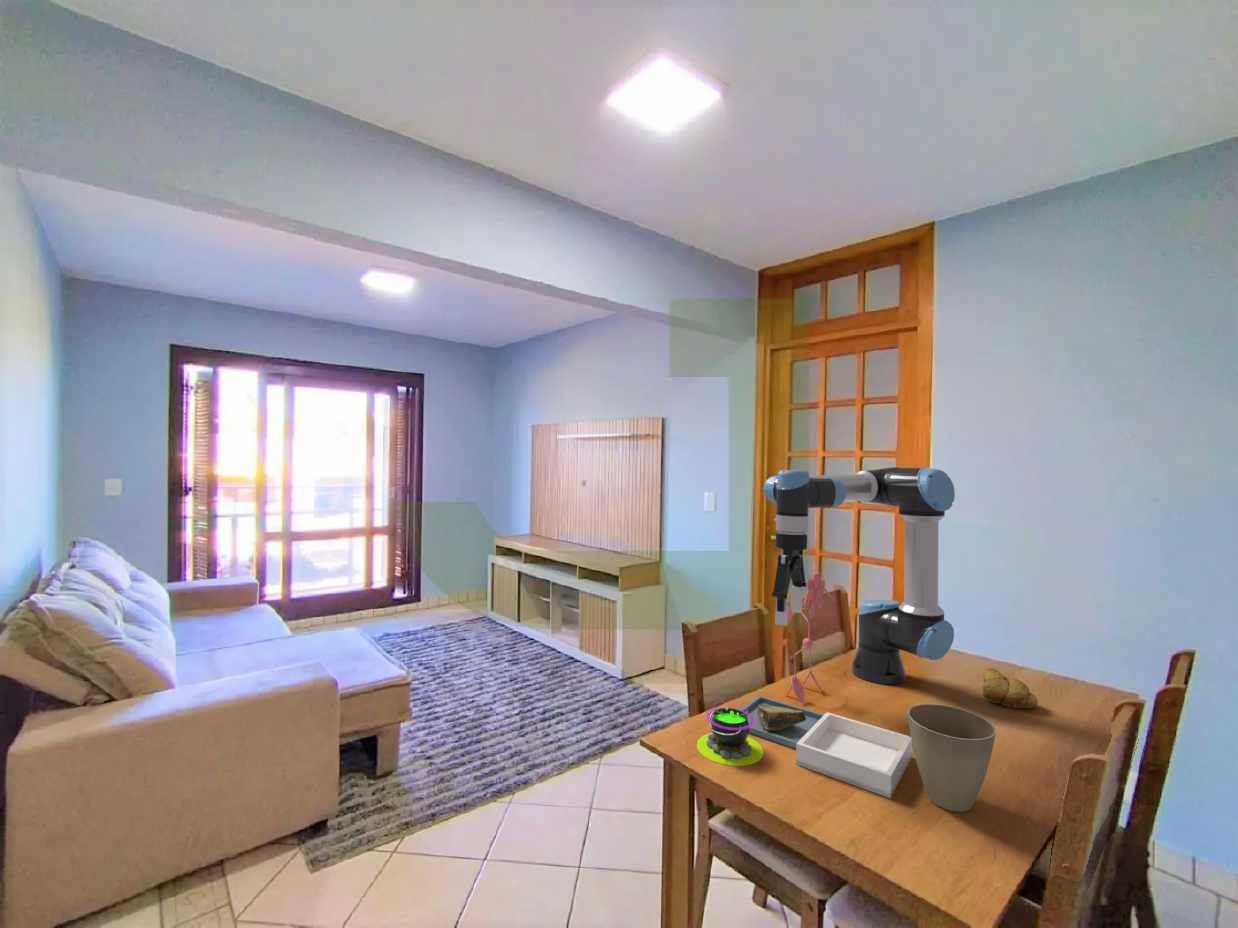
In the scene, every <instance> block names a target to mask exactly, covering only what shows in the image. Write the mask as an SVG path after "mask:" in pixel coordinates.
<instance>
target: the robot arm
mask: <svg viewBox="0 0 1238 928" xmlns="http://www.w3.org/2000/svg"><path fill="white" fill-rule="evenodd" d="M955 493H956V492H955V486H954V483H953V481H952V478H951V477H950V476H948V473H946V472H945V471H943V470H942V469H938V468H931V467H899V466H897V467H886V468H885V467H884V468H878V469H877V468H876V469H870V470H869V469H868V470H860V471H858V472H856V473H854V474H850V473H849V474H827V475H826V474H825V475H824V474H821V475H810V473H809V472H808V470H798V469H797V470H796V469H791V470H790V469H782V470H779V472H778V473H777V475H773V476H770V477H768V479H766V481H765V482H764V485H763V494H764V496H765V498H766V499H767V500H768V501H769V502H772V503H776V516H775V517H774V519H773V521H774V522H776V523H775V530H776V533H775V547H776V548H777V549H779V550H780V549H782V554H778V555H777V565H776V566H777V567H776V573H775V579H774V585H773V586H774V587H773V591H772V594H771V597H774V598H775V617H774V618H775V619H774V620H775V621H774V622H775V625H779V626H785V627H787V626H788V624H789V623H788V604H789V597H788V593H789V589H790V587H791V589H790V591H791V592H790V608H791V612H792V613H793V612H797V613H796V614H801V613H802V612H803V610H802V609H803V607H802V604H803V598H804V597H803V596H804V594H803V593H804V588H807V582H806V576H805V575H806V574H805V565H804V558H803V557H804V556H803V555H804V550H806V549H807V548H808V535H807V534H806V533H807V532H808V531H809V528H808V527H809V509H810V508H811V509H812V508H813V509H815V508H816V509H818V508H820V509H821V508H822V509H824V508H825V509H826V508H827V509H831V508H838V507H840V506H841V505H843V503H845V502H844V501H854V500H855V501H856V500H857V501H858V502H860V503H873V504H879V505H885V506H890V507H898V515H899V517H901V518H902V520H904V581H903V582H904V583H903V584H904V593H903V594H904V598H903V599H904V601H903V602H902V603H901V602H900V601H897V600H893V599H891V600H890V599H867V600H864V601H861V602H860V605H859V611H858V647H857V649H856V652H855V654H854V657H853V659H852V663H851V673H852V674H853V675H854V676H856V677H858V679H862V680H865V681H867V682H872V683H875V684H883V685H898V684H902V683H904V682H905V681H906V670H905V667H904V663H903V660H902V657H901V653H900V652H901V651H903V652H906V653H909V654H910V655H911V654H912V655H914V656H918V658H922V659H923V658H924V659H927V660H930V661H937V660H940V659H942V658H943V657H944V656H946V655H947V654H948V653H949V651H950V649H951V647H952V646H953V642H954V637H955V629H954V627H953V626H952V625H953V624H952V623H951V622H949V621H948V620H945V611H944V609H943V608H942V607H940V606H939V522H940V520H942V518H945V516H946V515H945V512H946V511H948V510H949V509H951V508H952V506H953V505H954V504H953V502H955V496H956V495H955ZM791 583H792V585H791ZM790 585H791V586H790ZM900 650H901V651H900Z"/></svg>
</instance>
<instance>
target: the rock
mask: <svg viewBox="0 0 1238 928" xmlns="http://www.w3.org/2000/svg"><path fill="white" fill-rule="evenodd" d="M757 714H758V716H759V720H760V722H761V725H762V727H763V728H764V729H766V731H769V730H781V729H785V728H787V727H788V726H791V725H796V724H798V723H800V722H803V721H805V720H806V717H805V714H804V712H803V711H799V710H793V709H789V708H783V707H776V706H769V705H758V712H757Z"/></svg>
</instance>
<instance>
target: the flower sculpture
mask: <svg viewBox="0 0 1238 928" xmlns="http://www.w3.org/2000/svg"><path fill="white" fill-rule="evenodd" d="M825 586H826V579H824V578H823V579H822V580H821V573H820V571H817V572H816V573H814V575H813V579H812V578H809V579H807V580H806V589H807V592H806V595H805V599H804V601H802V613H800V614H801V615H802V616H803V617H802V618H804V620H805V621H806V623H807V634H808V635H807V636H808V637H805V638H804V639H803V640H802V646H803V647H802V648H800V650H798V651H797V652H796V653H794V654H793V664H794V665H793V667H794V668H793V669H794V676H792V677H791V678H790V679H791V681H790V682H791V684H790V687H789V688H788V690H787V692H786V693H785V695H784V696H785V697H788V696H789V694H790V692H791V691H792V690H793V692H794V695H795V696H796V697H797V699H798V700H799V701H800V702H801V704H804V701H805V691H804V685H805V683H806V682H807V680H808V678H809V677H811V678H812V680H813V682H814V683H815V685H816V686H817V687H818V689H819V690H822V689H821V686H820V684H819V682H818V680H817V679H816V677H815V675H814V674H813V670H812V661H811V647H813V644H814V642H813V640H812V639H811V622H810V621H809V619H808V617H807V616H806V615H805V614H804V613H803V611H807V610H808V612H809V617H810V618H813V617H814V616H816V615H817V612H818V609H819V610H820V609H822V608H823V607H824V601H823V595H824V593H825V594H826V595H827V596H828V597H829V598H830V599H831V600H832V601H833V602H835V603H836V602H837V600H836V599H835V597H833V595H831V593H830V592H829V590H828V589H827V588H826V587H825ZM795 614H798V613H797V612H791V605H790V604H789V603H788V624H789V625H790V624H791V622H792V620H793V616H794V615H795ZM805 648H806V649H807V650H808V658H809V660H808V661H809V668H807V670H808V672H807V674H806V675H805V678H804V679H803V682H802V683H801V681H800V680H799V677H797V669H796V656H797V655H799V654H800V652H802V651H803V650H805ZM841 693H842V694H844V692H843V691H841ZM846 698H847V699H848V696H847V697H846ZM845 705H846V702H844V703H843V704H842V705H840V706H837V707H835V708H829V710H830V711H832V710H835V709H839V708H841V707H843V706H845Z"/></svg>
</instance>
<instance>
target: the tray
mask: <svg viewBox="0 0 1238 928" xmlns="http://www.w3.org/2000/svg"><path fill="white" fill-rule="evenodd" d="M744 705H745V706H744ZM744 705H743V706H742V707H740V710H742V711H746V712H748V713H747V719H748V723H750V722H751V723H750V724H752V721H753V720H752V721H751V719H750V717H753V716H754V718H753V719H755V720H756V722H755V720H754V722H755V723H753V724H754V726H750V728H749V734H750V735H753V736H756V737H758V738H761V739H763V740H766V741H770V742H772V743H775V744H778V745H782V746H784V747H787V748H790V749H793V750H795V751H796V743H797V742H798V741H799V740H800V739H801V738H802V737H803V736H804V735H805V734H806V733H807V732H808V731H809V730H810V729H811V728H812V727H813V726H814V725H815V724H816V723H817V722H818V721H819V720H820V719H821V718H822V716H823V715H824V714H825V713H820V712H818V711H814V710H811V709H807V708H804V707H800V706H798V705H794V704H791V703H787V702H783V701H781V700H778V699H777V700H776V699H773V698H771V697H770V698H769V697H767V696H764V695H760V694H758V695H757V696H756V697H754V698H753V699H752V700H750V701H749V702H748V703H746V704H744ZM758 705H769V706H776V707H783V708H789V709H793V710H799V711H803V712H804V714H805V717H806V720H805V721H803V722H800V723H798V724H796V725H791V726H788V727H787V728H785V729H781V730H769V731H766V729H764V728H763V727H762V725H761V722H760V720H759V716H758V714H757V712H758ZM746 707H747V708H748V709H746ZM740 710H739V711H740ZM747 710H748V711H747ZM745 714H746V713H745ZM749 714H751V716H748V715H749ZM752 715H753V716H752ZM751 727H752V728H751Z"/></svg>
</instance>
